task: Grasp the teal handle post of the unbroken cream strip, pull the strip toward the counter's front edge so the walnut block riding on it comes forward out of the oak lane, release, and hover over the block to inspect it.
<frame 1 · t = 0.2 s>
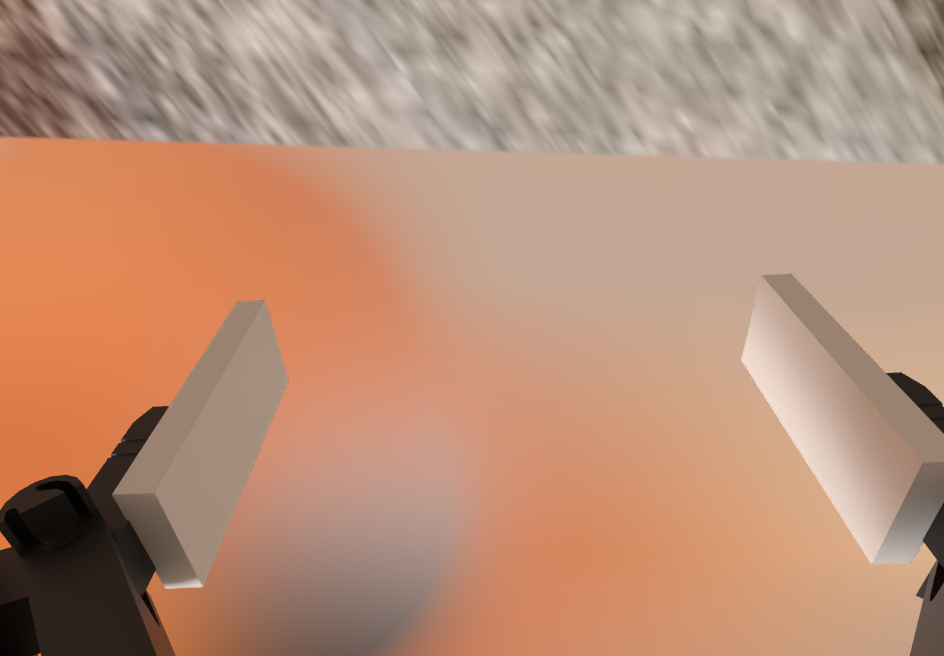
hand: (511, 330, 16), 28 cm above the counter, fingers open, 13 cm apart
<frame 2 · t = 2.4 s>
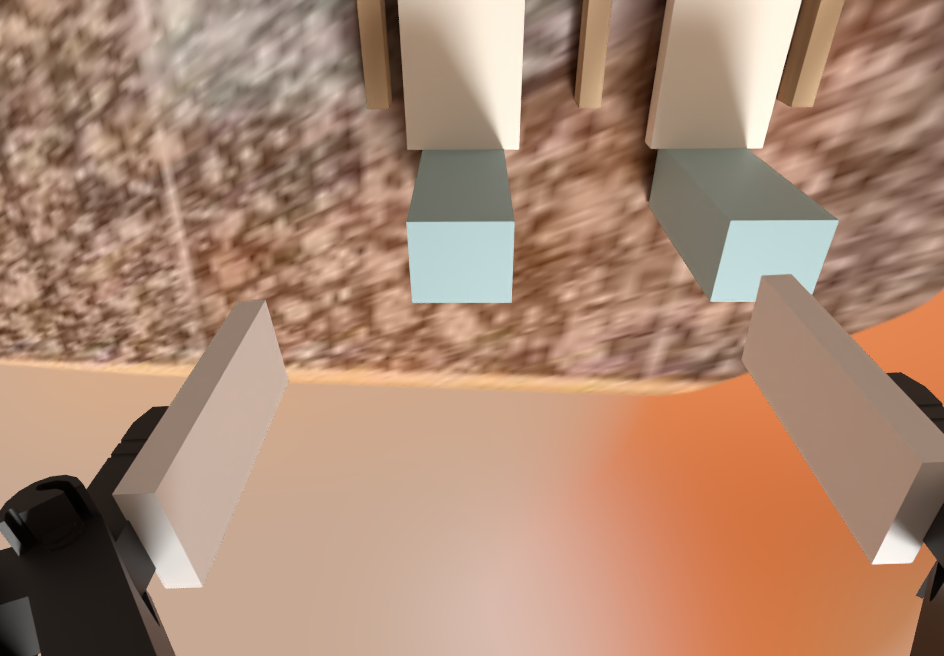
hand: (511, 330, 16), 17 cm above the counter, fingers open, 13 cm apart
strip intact: (460, 16, 23), point 5 cm above the counter, slide at 0.0 cm, touching block walnut
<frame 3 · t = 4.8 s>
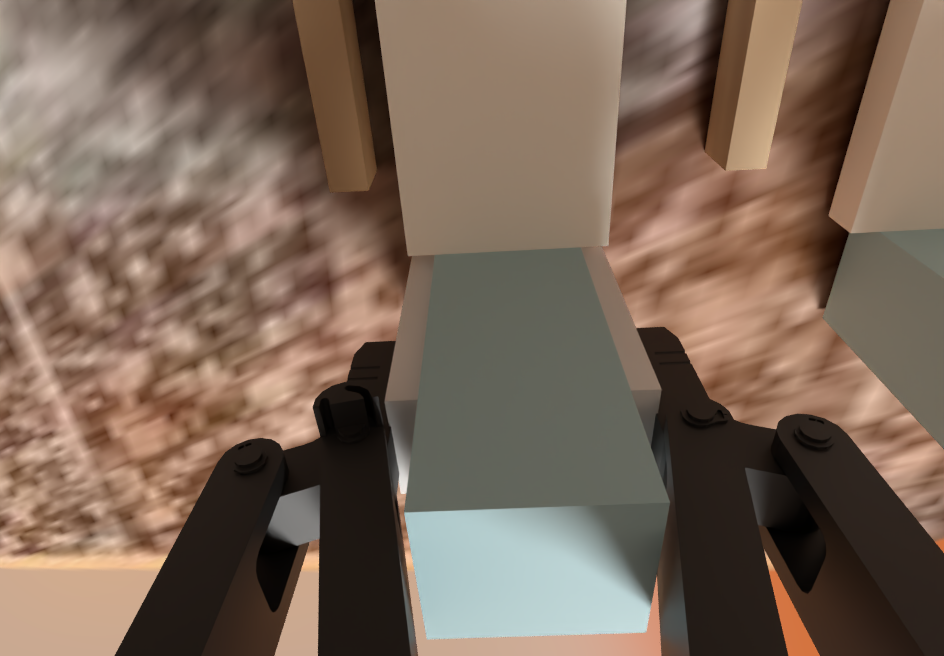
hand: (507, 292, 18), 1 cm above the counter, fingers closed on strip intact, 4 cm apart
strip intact: (509, 6, 10), point 5 cm above the counter, slide at 0.0 cm, touching block walnut, gripper
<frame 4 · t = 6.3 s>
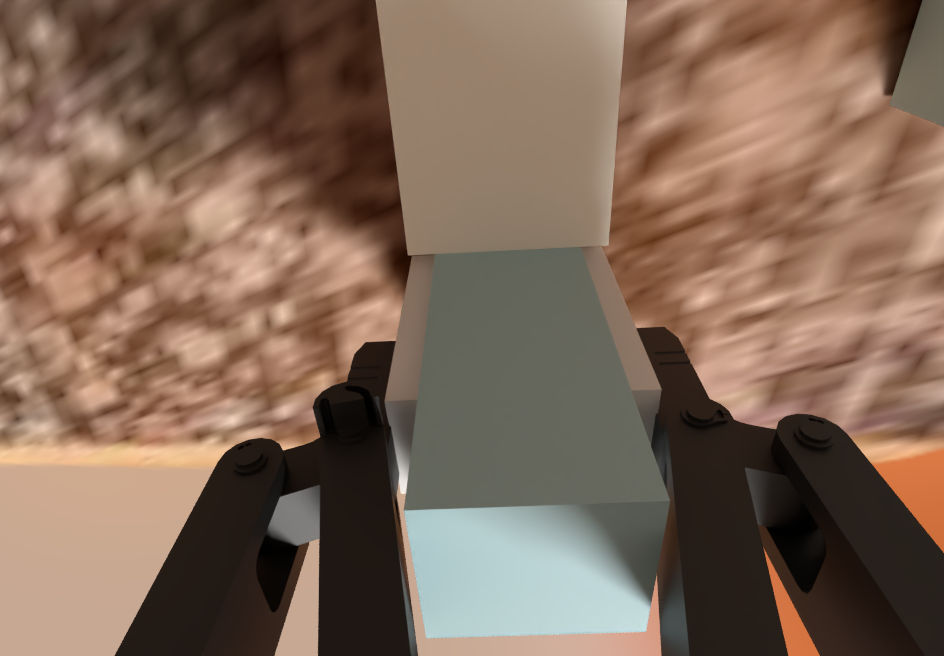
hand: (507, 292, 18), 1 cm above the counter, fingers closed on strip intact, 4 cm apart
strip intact: (510, 5, 10), point 5 cm above the counter, slide at 6.5 cm, touching block walnut, gripper
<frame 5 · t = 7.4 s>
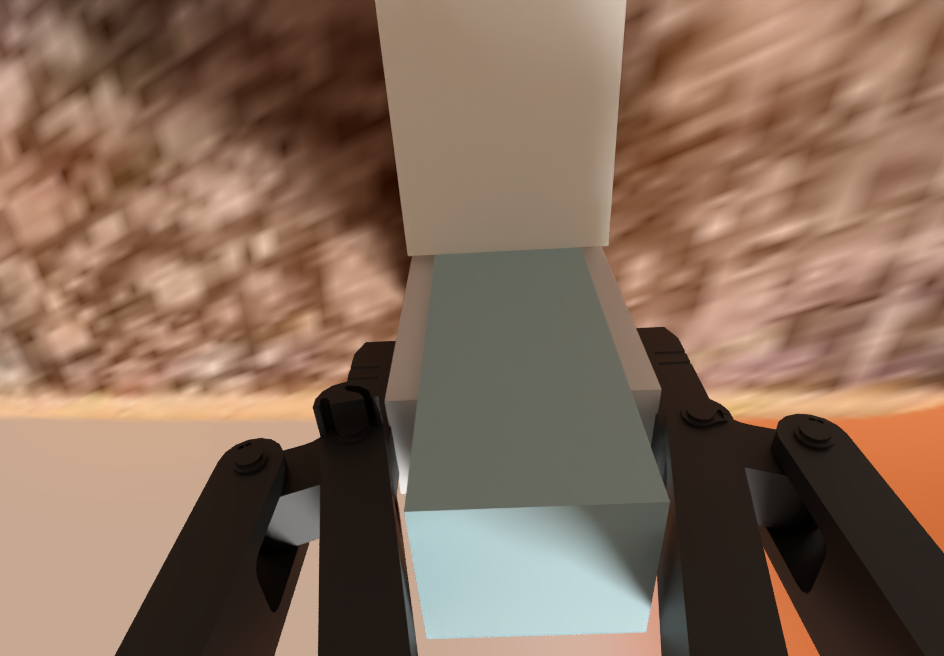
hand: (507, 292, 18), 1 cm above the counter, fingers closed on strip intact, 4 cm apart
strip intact: (509, 6, 10), point 5 cm above the counter, slide at 9.0 cm, touching block walnut, gripper
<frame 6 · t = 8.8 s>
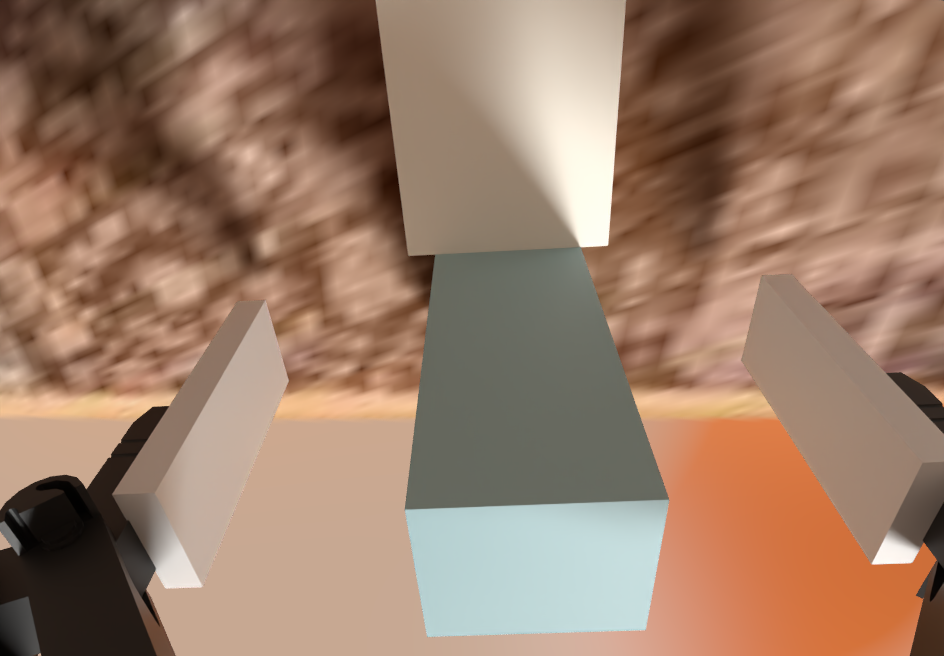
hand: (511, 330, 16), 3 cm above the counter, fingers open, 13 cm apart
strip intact: (509, 7, 10), point 5 cm above the counter, slide at 9.0 cm, touching block walnut
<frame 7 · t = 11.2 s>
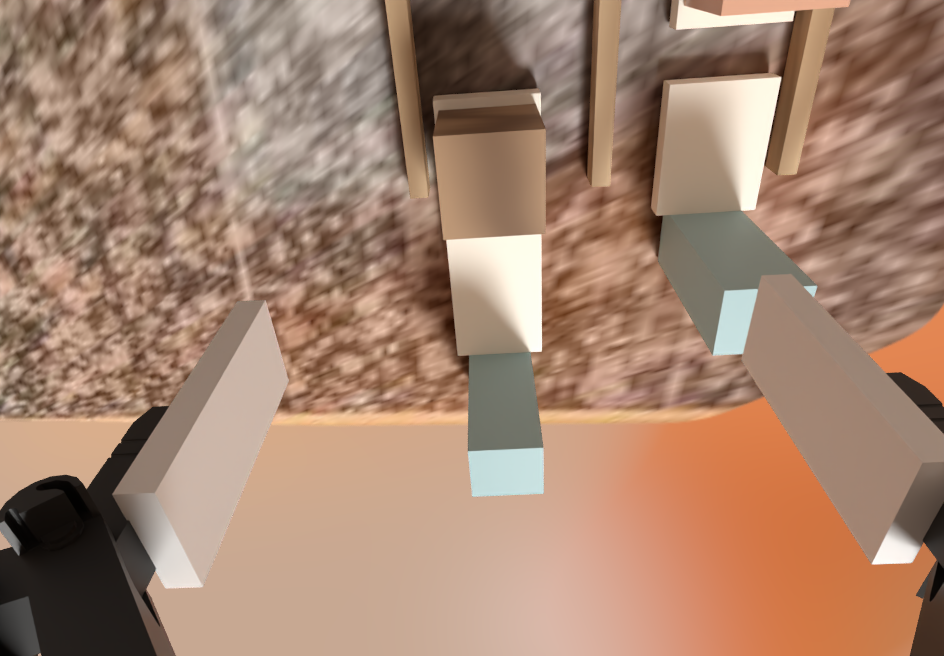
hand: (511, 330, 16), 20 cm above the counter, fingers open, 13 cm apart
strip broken: (719, 55, 30), on the counter
block walnut: (489, 155, 32), point 1 cm above the counter, touching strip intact
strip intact: (497, 300, 32), point 5 cm above the counter, slide at 9.0 cm, touching block walnut
lane frame: (602, 42, 30), on the counter
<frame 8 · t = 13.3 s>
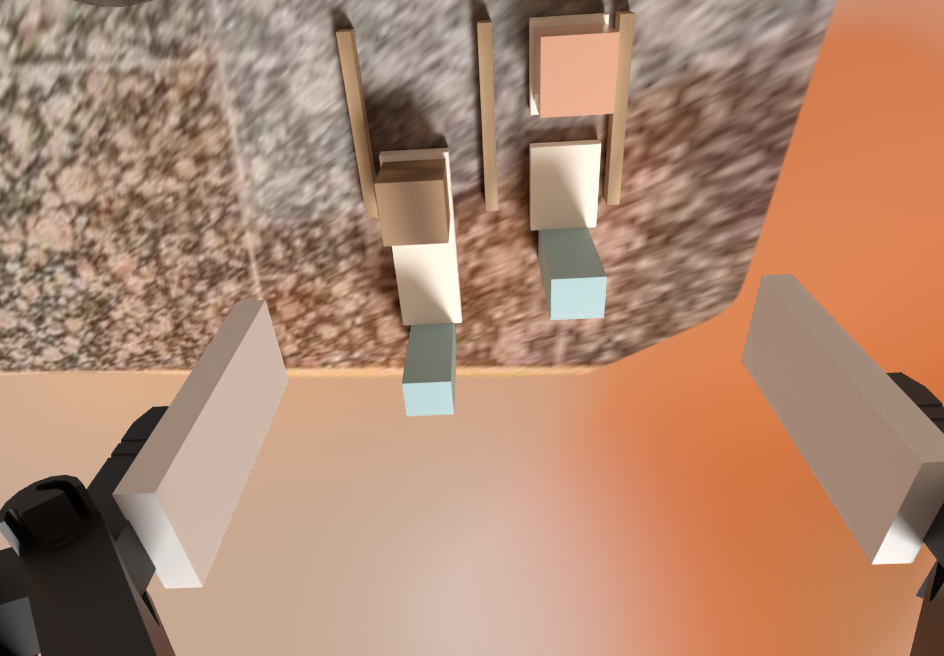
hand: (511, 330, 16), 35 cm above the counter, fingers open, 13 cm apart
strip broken: (563, 128, 47), on the counter
block walnut: (417, 190, 49), point 1 cm above the counter, touching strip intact
block clay: (568, 63, 43), point 1 cm above the counter, touching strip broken
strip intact: (422, 285, 49), point 5 cm above the counter, slide at 9.0 cm, touching block walnut
lane frame: (487, 119, 47), on the counter
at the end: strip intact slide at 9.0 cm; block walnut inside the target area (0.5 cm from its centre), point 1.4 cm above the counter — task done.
